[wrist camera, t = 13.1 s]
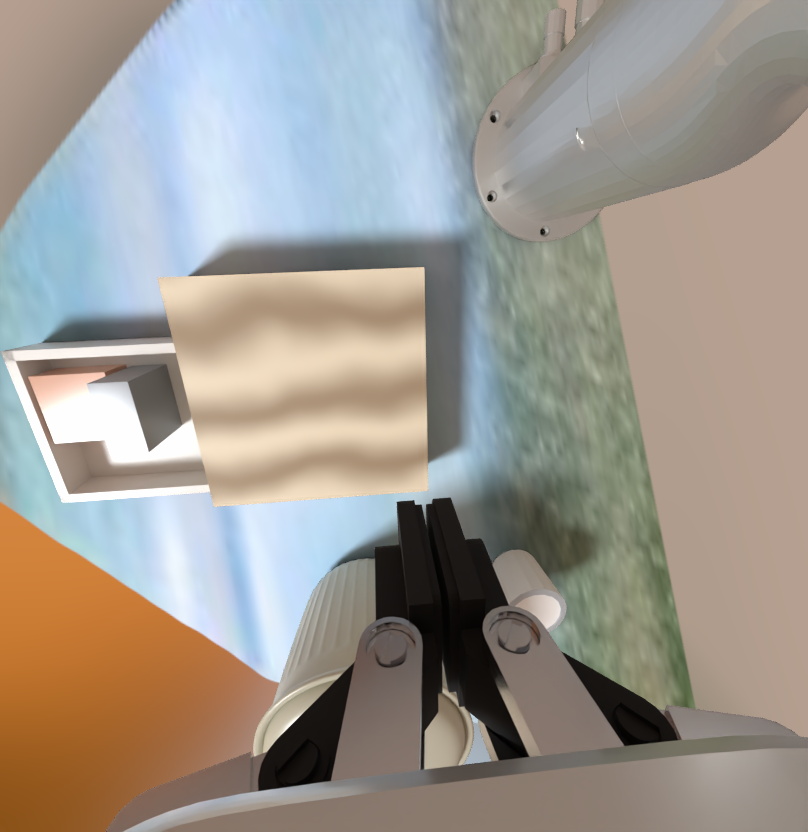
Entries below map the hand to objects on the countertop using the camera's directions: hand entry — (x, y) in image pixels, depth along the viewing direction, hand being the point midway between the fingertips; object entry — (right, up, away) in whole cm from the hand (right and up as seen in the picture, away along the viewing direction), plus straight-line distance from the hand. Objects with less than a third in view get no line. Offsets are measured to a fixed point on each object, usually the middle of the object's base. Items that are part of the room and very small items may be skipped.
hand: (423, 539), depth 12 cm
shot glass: (+13, -15, +36) cm, 41 cm away
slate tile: (-22, +5, +21) cm, 31 cm away
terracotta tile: (-28, +4, +21) cm, 35 cm away
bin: (-26, +4, +25) cm, 36 cm away
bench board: (-9, +7, +26) cm, 28 cm away
